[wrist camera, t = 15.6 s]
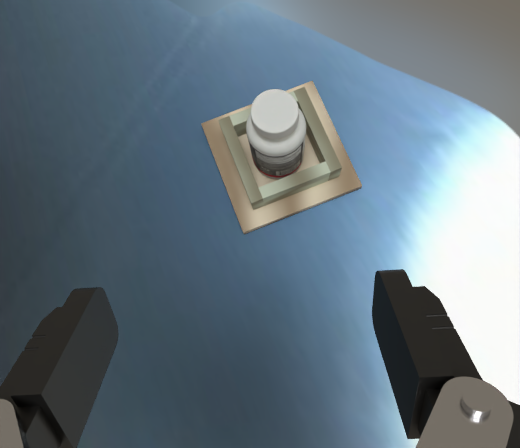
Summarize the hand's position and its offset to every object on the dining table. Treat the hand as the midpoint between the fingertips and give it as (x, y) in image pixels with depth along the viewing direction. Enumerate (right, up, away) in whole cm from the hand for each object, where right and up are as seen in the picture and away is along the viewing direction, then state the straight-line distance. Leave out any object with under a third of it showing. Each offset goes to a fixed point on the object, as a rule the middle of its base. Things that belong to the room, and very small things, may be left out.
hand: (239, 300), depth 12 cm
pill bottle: (+2, +9, +31) cm, 32 cm away
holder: (+3, +9, +31) cm, 33 cm away
